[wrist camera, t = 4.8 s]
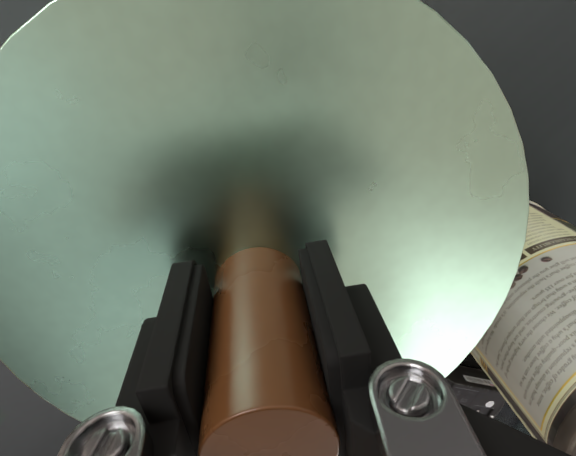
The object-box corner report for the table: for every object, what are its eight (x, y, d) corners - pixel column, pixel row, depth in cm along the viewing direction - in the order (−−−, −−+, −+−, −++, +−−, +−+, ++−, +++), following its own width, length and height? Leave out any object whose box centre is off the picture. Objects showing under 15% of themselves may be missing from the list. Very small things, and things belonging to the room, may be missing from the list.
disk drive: (390, 347, 32) (325, 465, 37) (404, 374, 29) (332, 496, 35) (494, 367, 34) (418, 475, 40) (515, 393, 32) (431, 504, 37)
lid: (550, -87, 9) (1074, -280, 3) (475, 391, 16) (597, 581, 10) (-176, 2, 8) (-1048, -49, 3) (89, 458, 15) (6, 698, 10)
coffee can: (581, 204, 28) (870, 347, 15) (518, 320, 32) (702, 507, 19) (450, 184, 26) (657, 329, 13) (401, 311, 30) (522, 511, 17)
